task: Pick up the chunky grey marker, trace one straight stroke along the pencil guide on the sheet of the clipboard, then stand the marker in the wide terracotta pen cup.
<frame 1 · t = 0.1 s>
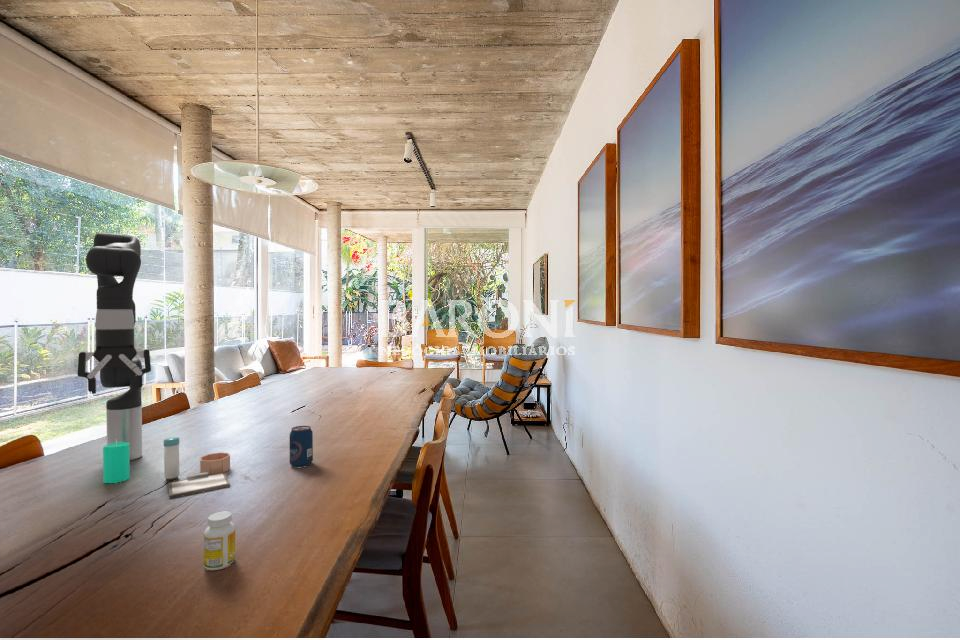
hand: (116, 391, 112), 29 cm above the table, tool pointing down, fingers open, 8 cm apart
soda can: (301, 465, 143), on the table
clipboard: (199, 485, 126), on the table
pen cup: (215, 470, 138), on the table
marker: (172, 479, 130), on the table
supplement bottle: (220, 565, 87), on the table
candle: (116, 480, 130), on the table
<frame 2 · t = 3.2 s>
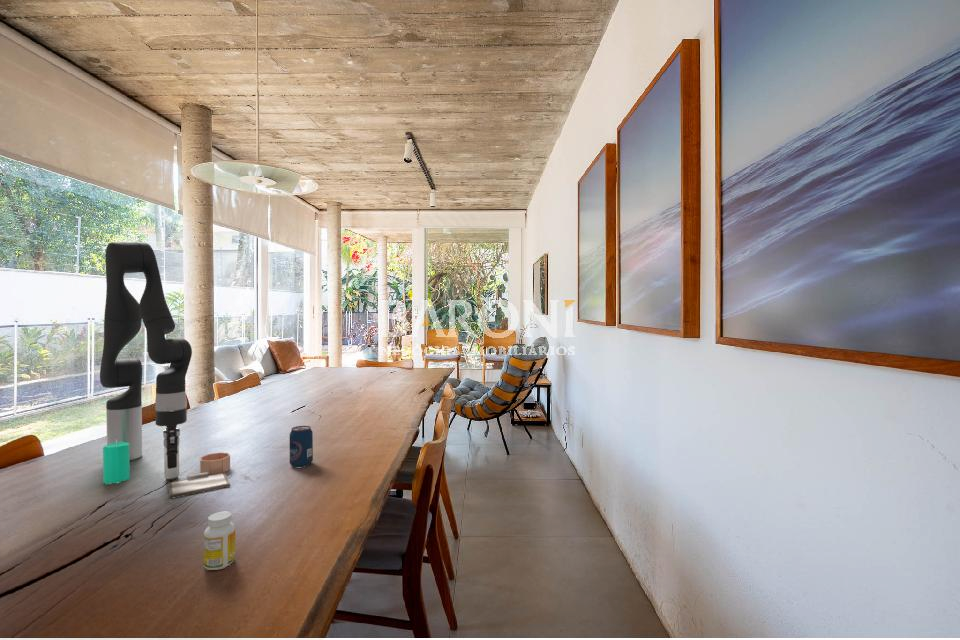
hand: (171, 465, 130), 4 cm above the table, tool pointing down, fingers closed on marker, 3 cm apart
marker: (172, 479, 130), on the table, touching gripper
everything else where it was.
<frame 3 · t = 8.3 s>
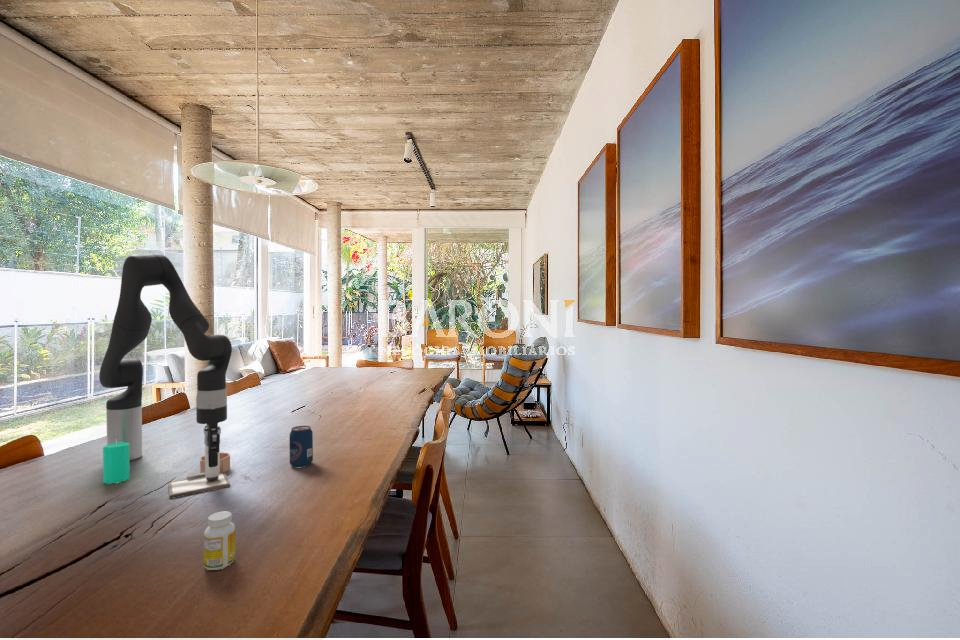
hand: (212, 464, 128), 6 cm above the table, tool pointing down, fingers closed on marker, 3 cm apart
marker: (212, 478, 128), point 1 cm above the table, touching gripper
everything else where it was.
when the fingers open (5 cm above the table, at t = 13.8 s): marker stays where it is, resting on pen cup.
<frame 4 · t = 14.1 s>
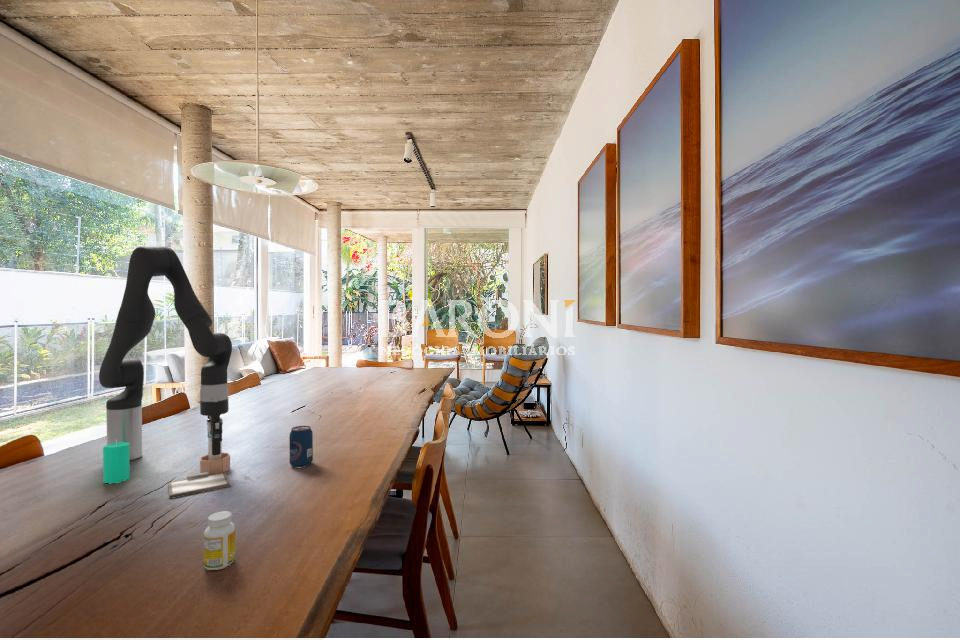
hand: (214, 451, 138), 6 cm above the table, tool pointing down, fingers open, 6 cm apart
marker: (215, 469, 138), resting on pen cup
everything else where it was.
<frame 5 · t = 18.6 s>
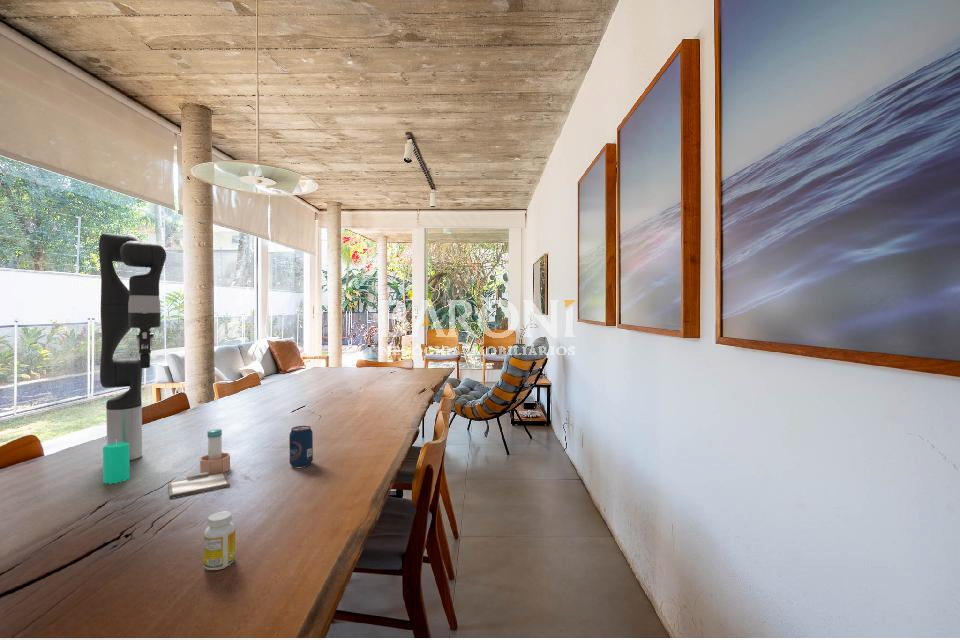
hand: (145, 366, 131), 33 cm above the table, tool pointing down, fingers open, 8 cm apart
nothing on the table moved.
at the end: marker 0.2 cm off-centre on the pen cup, point 0.4 cm above the pen cup's base; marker tilted 0°; the gripper is holding nothing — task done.
